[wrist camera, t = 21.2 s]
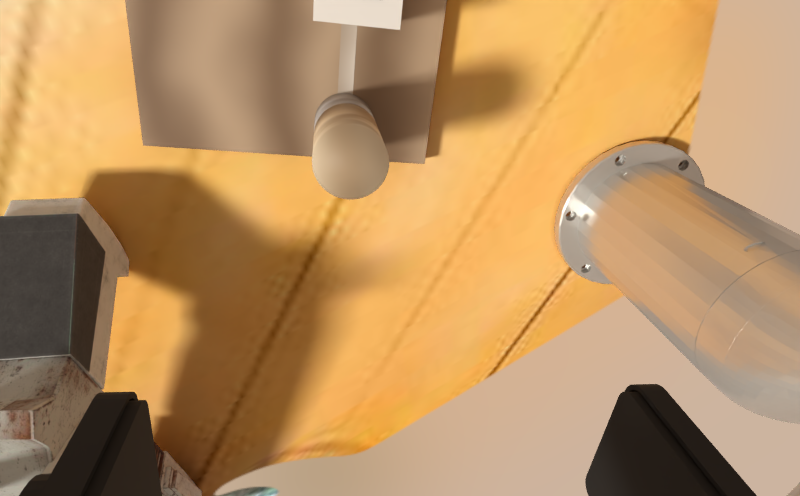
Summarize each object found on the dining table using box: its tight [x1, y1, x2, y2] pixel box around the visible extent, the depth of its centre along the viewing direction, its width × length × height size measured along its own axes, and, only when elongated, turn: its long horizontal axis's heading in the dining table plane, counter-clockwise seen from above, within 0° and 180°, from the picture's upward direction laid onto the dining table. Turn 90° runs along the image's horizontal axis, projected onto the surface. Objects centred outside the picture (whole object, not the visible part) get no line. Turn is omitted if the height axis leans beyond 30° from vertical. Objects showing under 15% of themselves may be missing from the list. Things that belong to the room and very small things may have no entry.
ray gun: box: [0, 198, 202, 496], centre depth 37 cm, size 7×32×20 cm, turn 179°
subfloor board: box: [125, 0, 447, 164], centre depth 31 cm, size 19×17×1 cm
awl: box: [312, 93, 389, 199], centre depth 30 cm, size 4×4×9 cm
